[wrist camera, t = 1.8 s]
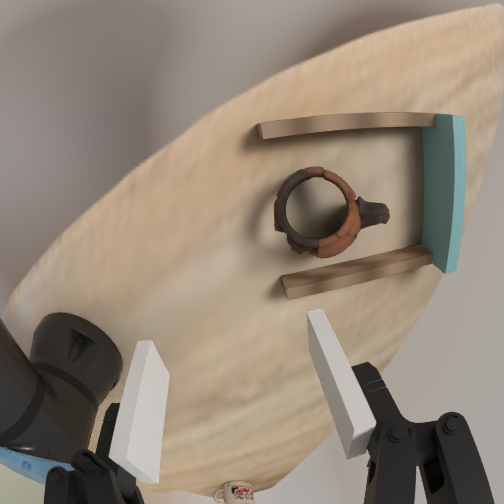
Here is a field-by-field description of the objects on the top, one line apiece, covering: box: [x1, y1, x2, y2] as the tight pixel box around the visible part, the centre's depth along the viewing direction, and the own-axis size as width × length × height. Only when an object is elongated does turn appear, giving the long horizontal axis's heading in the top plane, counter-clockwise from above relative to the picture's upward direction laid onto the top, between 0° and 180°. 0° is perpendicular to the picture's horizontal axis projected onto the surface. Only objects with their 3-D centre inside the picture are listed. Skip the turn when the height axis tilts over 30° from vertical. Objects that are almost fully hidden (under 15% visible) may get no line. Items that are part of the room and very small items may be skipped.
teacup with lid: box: [214, 481, 255, 504], centre depth 58 cm, size 12×9×12 cm
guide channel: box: [257, 112, 436, 300], centre depth 30 cm, size 20×19×3 cm
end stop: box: [421, 113, 466, 274], centre depth 29 cm, size 2×19×6 cm, turn 10°
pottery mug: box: [274, 167, 390, 258], centre depth 29 cm, size 12×10×8 cm
